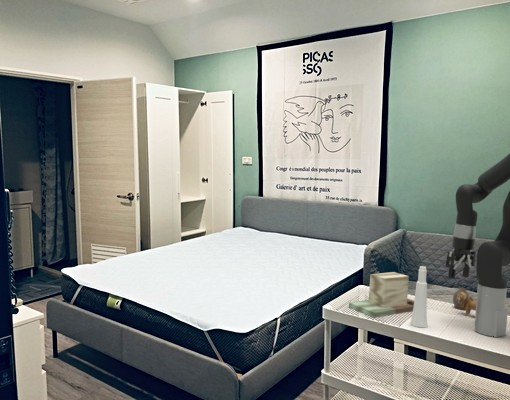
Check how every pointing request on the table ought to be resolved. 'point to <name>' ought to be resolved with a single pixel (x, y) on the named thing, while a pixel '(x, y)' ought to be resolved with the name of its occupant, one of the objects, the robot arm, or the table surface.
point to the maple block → (388, 289)
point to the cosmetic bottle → (420, 300)
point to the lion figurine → (466, 302)
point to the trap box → (378, 311)
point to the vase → (457, 296)
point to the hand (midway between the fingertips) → (458, 277)
